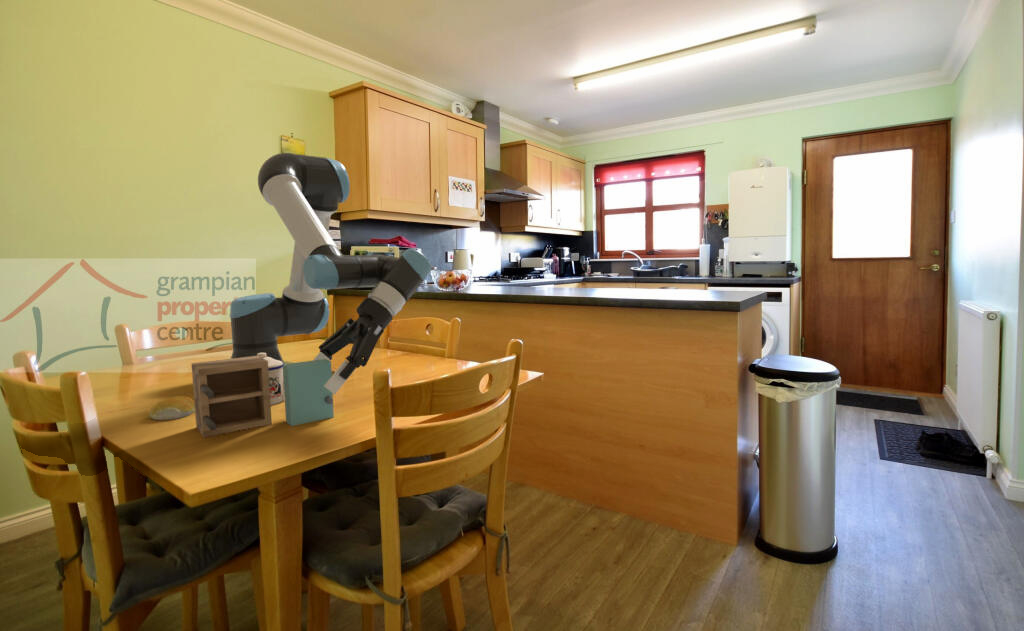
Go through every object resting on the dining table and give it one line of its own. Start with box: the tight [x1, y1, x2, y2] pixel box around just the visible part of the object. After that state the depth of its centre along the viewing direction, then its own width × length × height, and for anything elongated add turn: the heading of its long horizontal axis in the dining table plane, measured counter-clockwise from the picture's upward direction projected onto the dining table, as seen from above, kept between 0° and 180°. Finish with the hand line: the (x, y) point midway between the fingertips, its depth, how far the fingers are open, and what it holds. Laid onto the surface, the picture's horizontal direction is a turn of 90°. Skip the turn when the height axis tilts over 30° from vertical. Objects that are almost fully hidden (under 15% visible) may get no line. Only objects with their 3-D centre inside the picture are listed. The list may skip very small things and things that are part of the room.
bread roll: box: [148, 395, 195, 421], centre depth 112 cm, size 8×9×4 cm
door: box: [283, 359, 335, 427], centre depth 107 cm, size 4×9×12 cm, turn 130°
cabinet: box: [191, 356, 273, 438], centre depth 101 cm, size 14×12×13 cm
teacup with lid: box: [257, 353, 285, 406], centre depth 122 cm, size 12×9×12 cm
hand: (316, 384), depth 107 cm, fingers open, 13 cm apart
